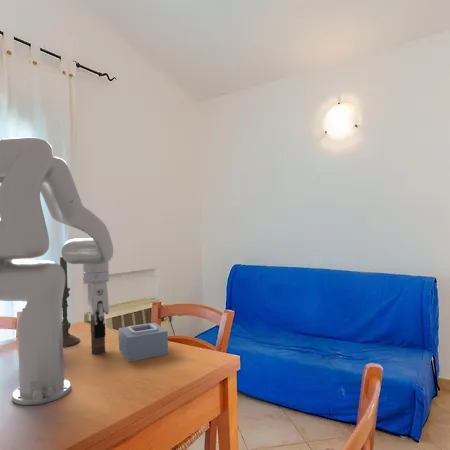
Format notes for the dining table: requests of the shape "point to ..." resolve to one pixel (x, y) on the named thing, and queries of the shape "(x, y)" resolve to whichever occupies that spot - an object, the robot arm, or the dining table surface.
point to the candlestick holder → (67, 338)
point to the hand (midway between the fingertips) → (97, 334)
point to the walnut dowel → (96, 339)
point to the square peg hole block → (143, 341)
